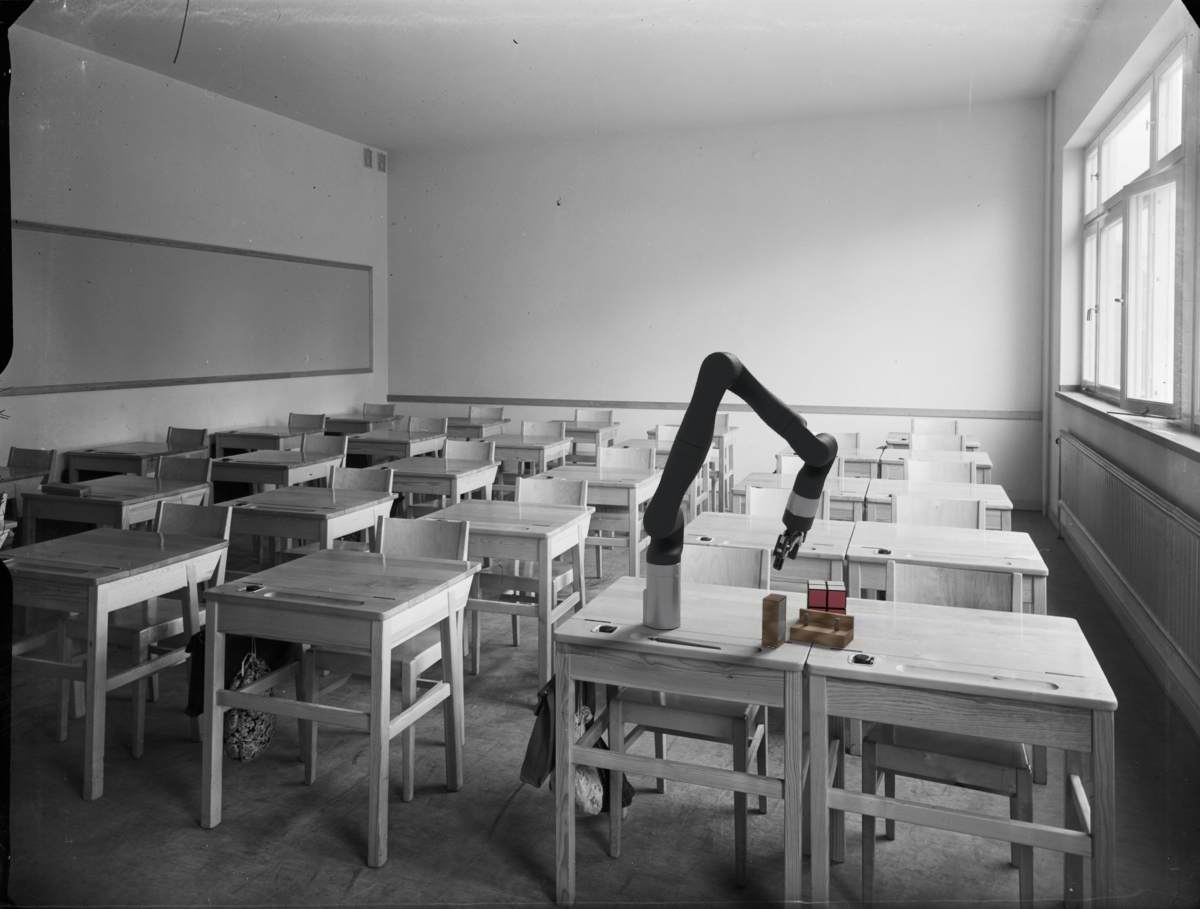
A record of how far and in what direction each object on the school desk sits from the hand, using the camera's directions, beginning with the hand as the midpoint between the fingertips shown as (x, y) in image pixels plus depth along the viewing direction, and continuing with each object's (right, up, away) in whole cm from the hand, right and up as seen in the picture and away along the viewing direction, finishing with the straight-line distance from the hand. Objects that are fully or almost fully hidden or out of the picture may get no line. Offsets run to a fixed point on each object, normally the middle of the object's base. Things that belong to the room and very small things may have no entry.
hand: (783, 563), depth 236 cm
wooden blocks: (-4, -19, -7) cm, 21 cm away
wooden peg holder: (+9, -19, -3) cm, 21 cm away
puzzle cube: (+14, -17, +12) cm, 25 cm away
